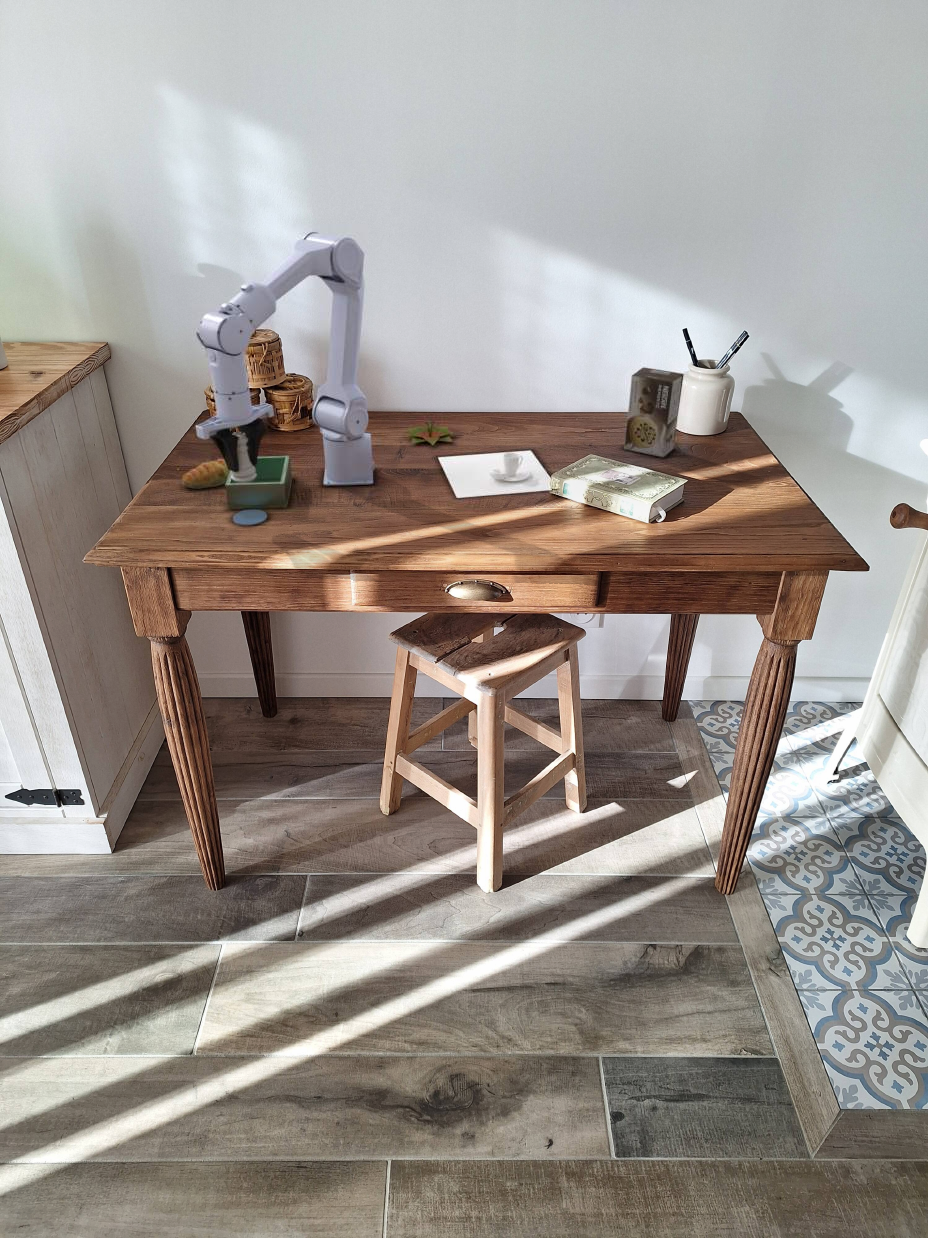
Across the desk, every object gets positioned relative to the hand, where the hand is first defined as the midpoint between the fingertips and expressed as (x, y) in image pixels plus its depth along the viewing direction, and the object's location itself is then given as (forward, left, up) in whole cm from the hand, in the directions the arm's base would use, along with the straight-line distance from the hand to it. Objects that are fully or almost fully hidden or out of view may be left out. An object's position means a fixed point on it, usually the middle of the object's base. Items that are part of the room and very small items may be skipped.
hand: (242, 466), depth 147 cm
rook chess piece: (0, 0, -2) cm, 2 cm away
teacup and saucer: (-46, -16, -10) cm, 50 cm away
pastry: (+9, -16, -10) cm, 22 cm away
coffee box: (-80, -26, -10) cm, 85 cm away
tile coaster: (0, 0, -10) cm, 10 cm away
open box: (-1, -10, -10) cm, 14 cm away
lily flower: (-34, -36, -10) cm, 51 cm away
